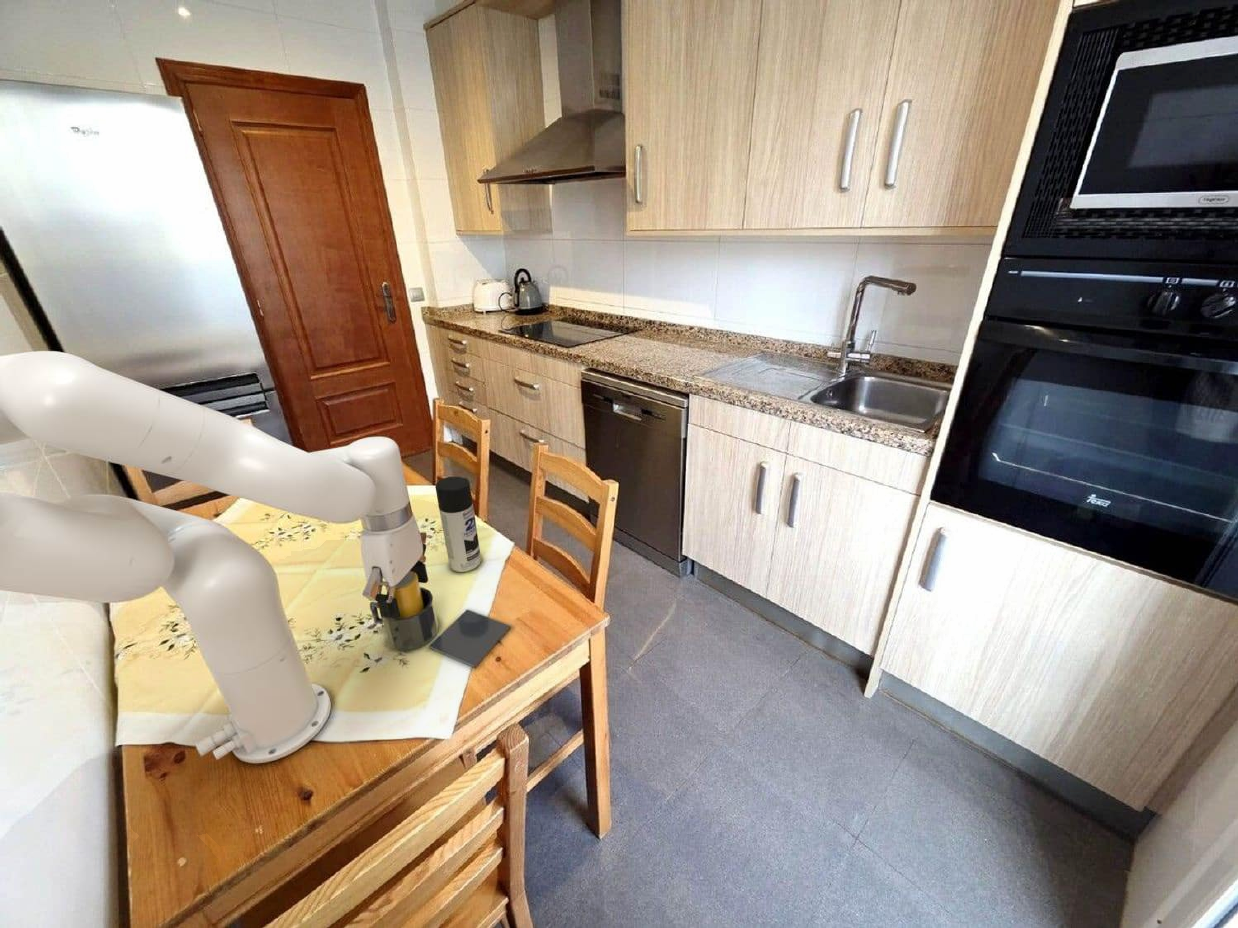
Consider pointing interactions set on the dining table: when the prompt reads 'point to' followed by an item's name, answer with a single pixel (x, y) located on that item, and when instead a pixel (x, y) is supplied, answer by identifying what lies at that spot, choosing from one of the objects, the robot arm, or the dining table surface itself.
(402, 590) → the can
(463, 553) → the spray can
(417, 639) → the mug
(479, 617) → the coaster
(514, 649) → the dining table surface
